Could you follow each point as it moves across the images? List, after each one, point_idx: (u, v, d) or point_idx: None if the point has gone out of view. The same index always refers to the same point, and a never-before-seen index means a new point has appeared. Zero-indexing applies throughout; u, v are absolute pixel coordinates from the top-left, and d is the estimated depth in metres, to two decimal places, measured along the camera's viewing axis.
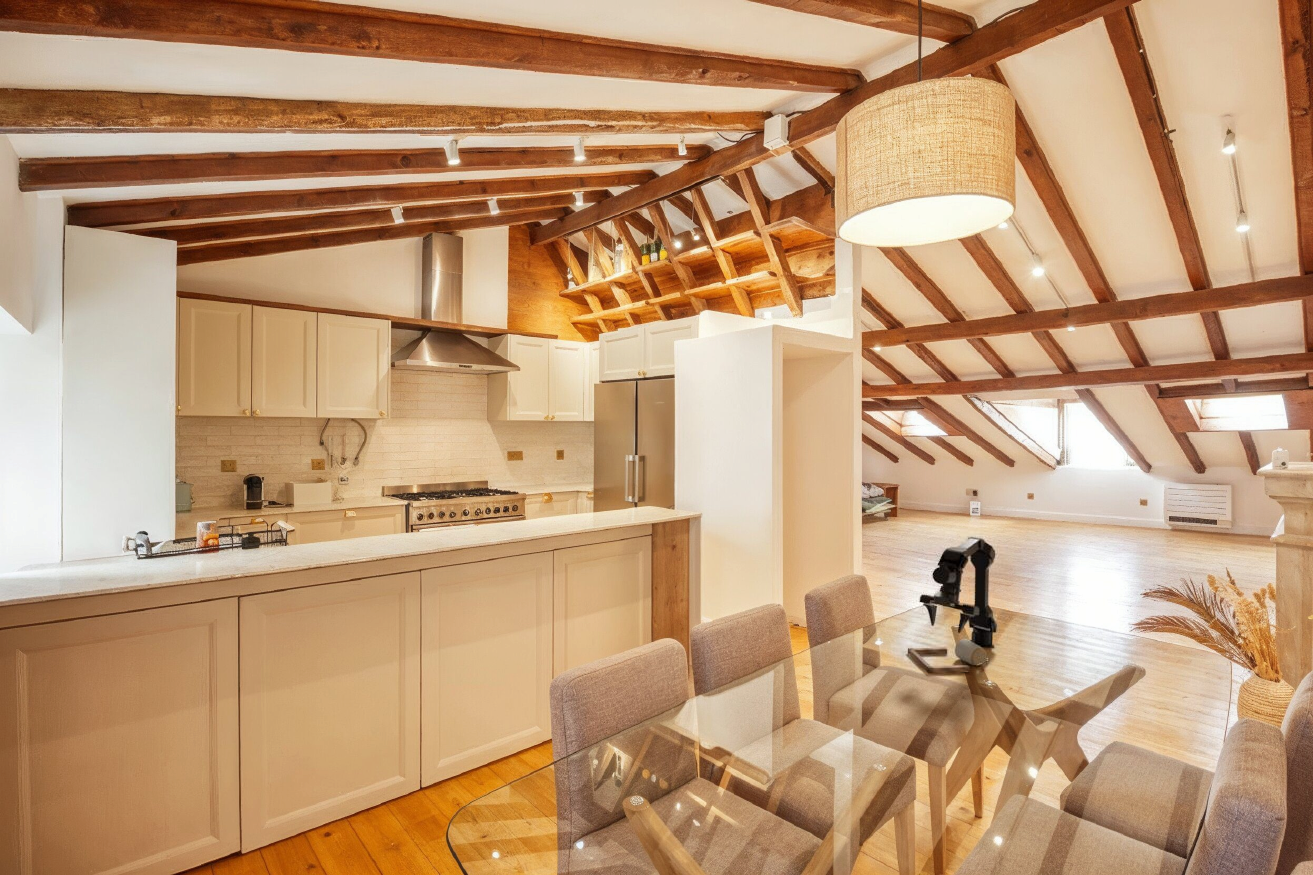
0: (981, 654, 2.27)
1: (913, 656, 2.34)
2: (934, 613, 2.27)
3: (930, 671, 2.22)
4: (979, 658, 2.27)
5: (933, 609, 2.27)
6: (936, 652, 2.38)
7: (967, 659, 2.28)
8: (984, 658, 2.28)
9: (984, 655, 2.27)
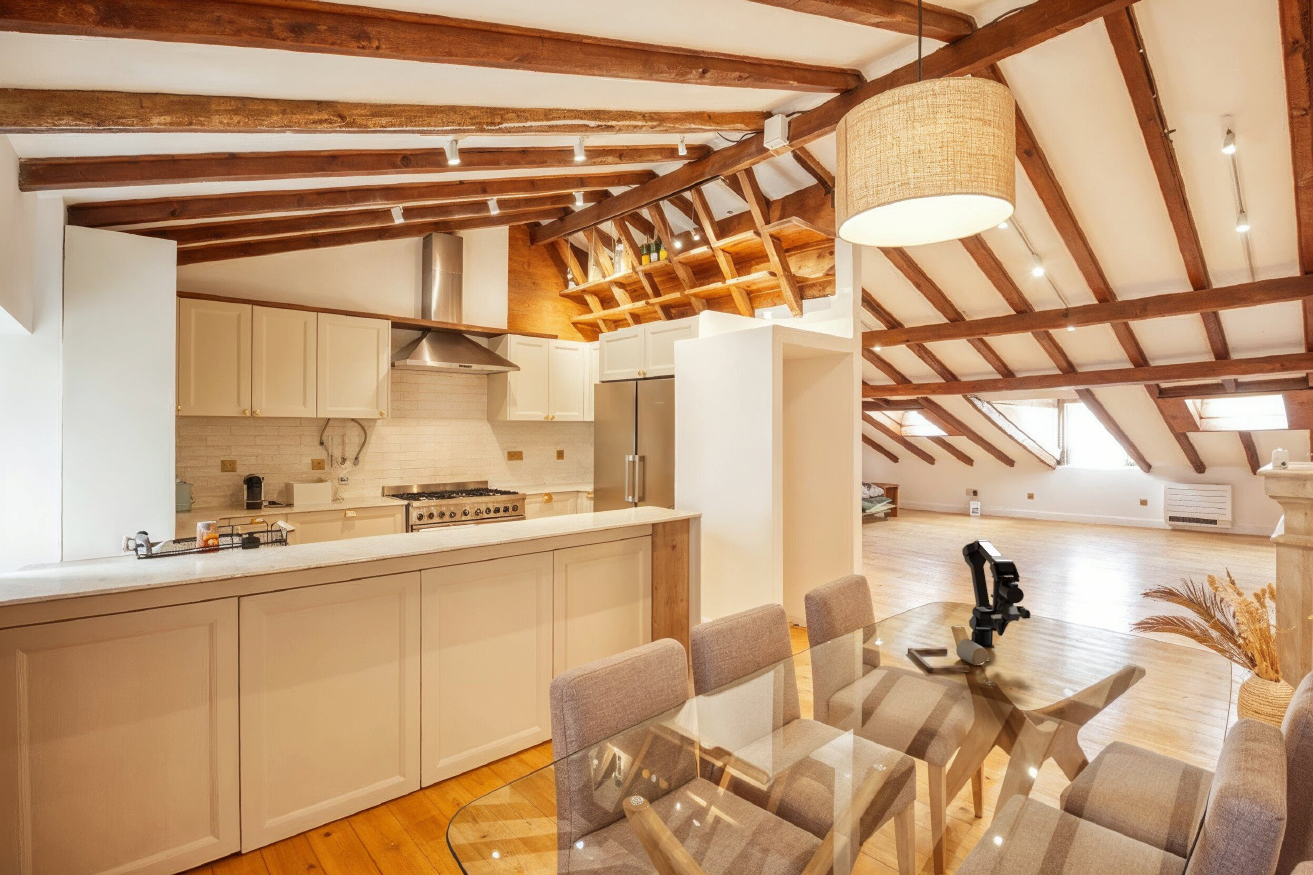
0: (982, 654, 2.27)
1: (913, 656, 2.34)
2: None
3: (930, 671, 2.22)
4: (980, 658, 2.27)
5: None
6: (936, 652, 2.38)
7: (968, 659, 2.28)
8: (985, 658, 2.28)
9: (985, 655, 2.28)
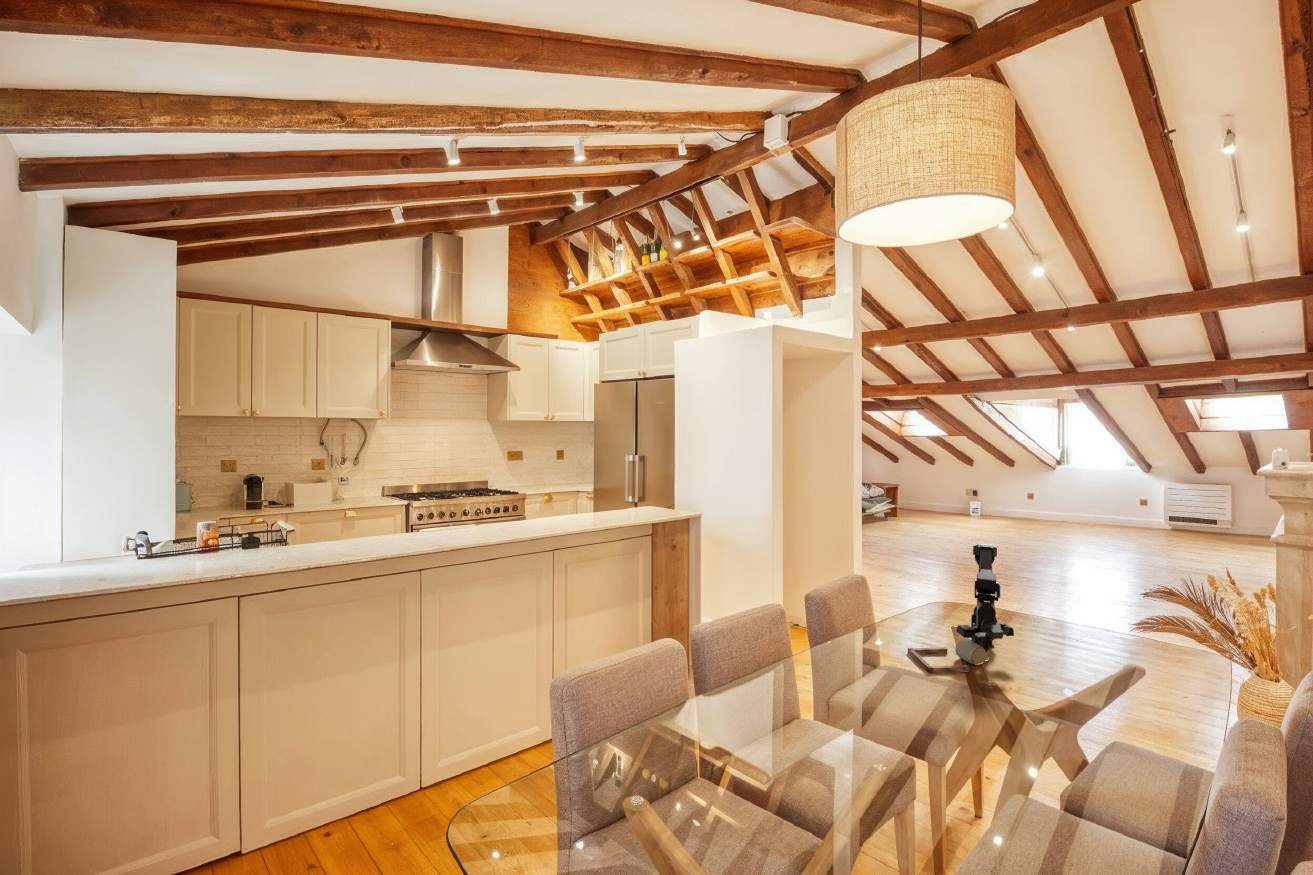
0: (981, 653, 2.27)
1: (913, 656, 2.34)
2: None
3: (930, 671, 2.22)
4: (979, 657, 2.27)
5: None
6: (936, 652, 2.38)
7: (967, 658, 2.28)
8: (984, 657, 2.28)
9: (984, 654, 2.28)
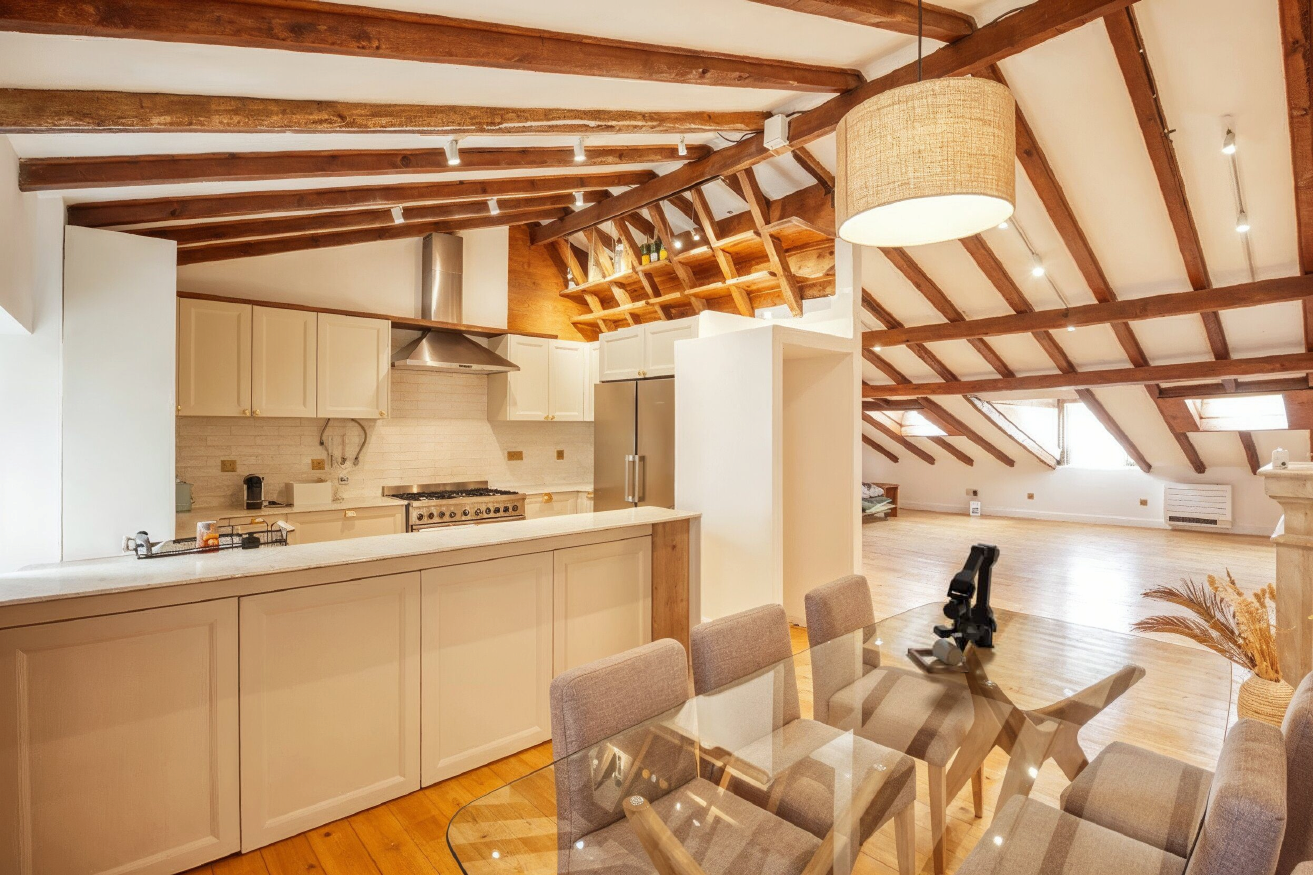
0: (957, 654, 2.27)
1: (913, 656, 2.34)
2: None
3: (930, 671, 2.22)
4: (955, 658, 2.27)
5: None
6: None
7: (943, 659, 2.28)
8: (960, 658, 2.28)
9: (960, 655, 2.27)
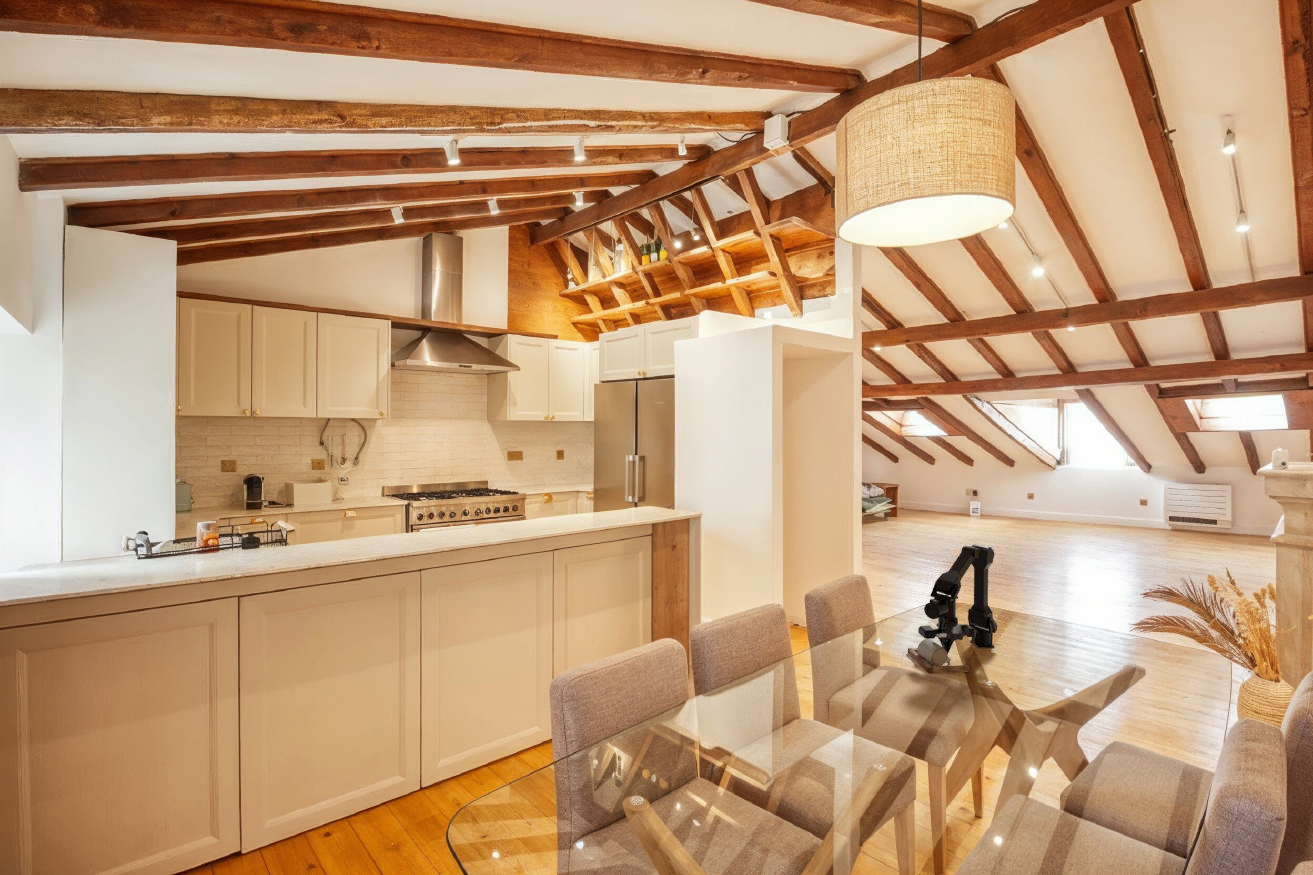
0: (942, 654, 2.27)
1: (913, 656, 2.34)
2: None
3: (930, 671, 2.22)
4: (939, 658, 2.27)
5: None
6: None
7: (928, 659, 2.28)
8: (945, 658, 2.27)
9: (945, 655, 2.27)
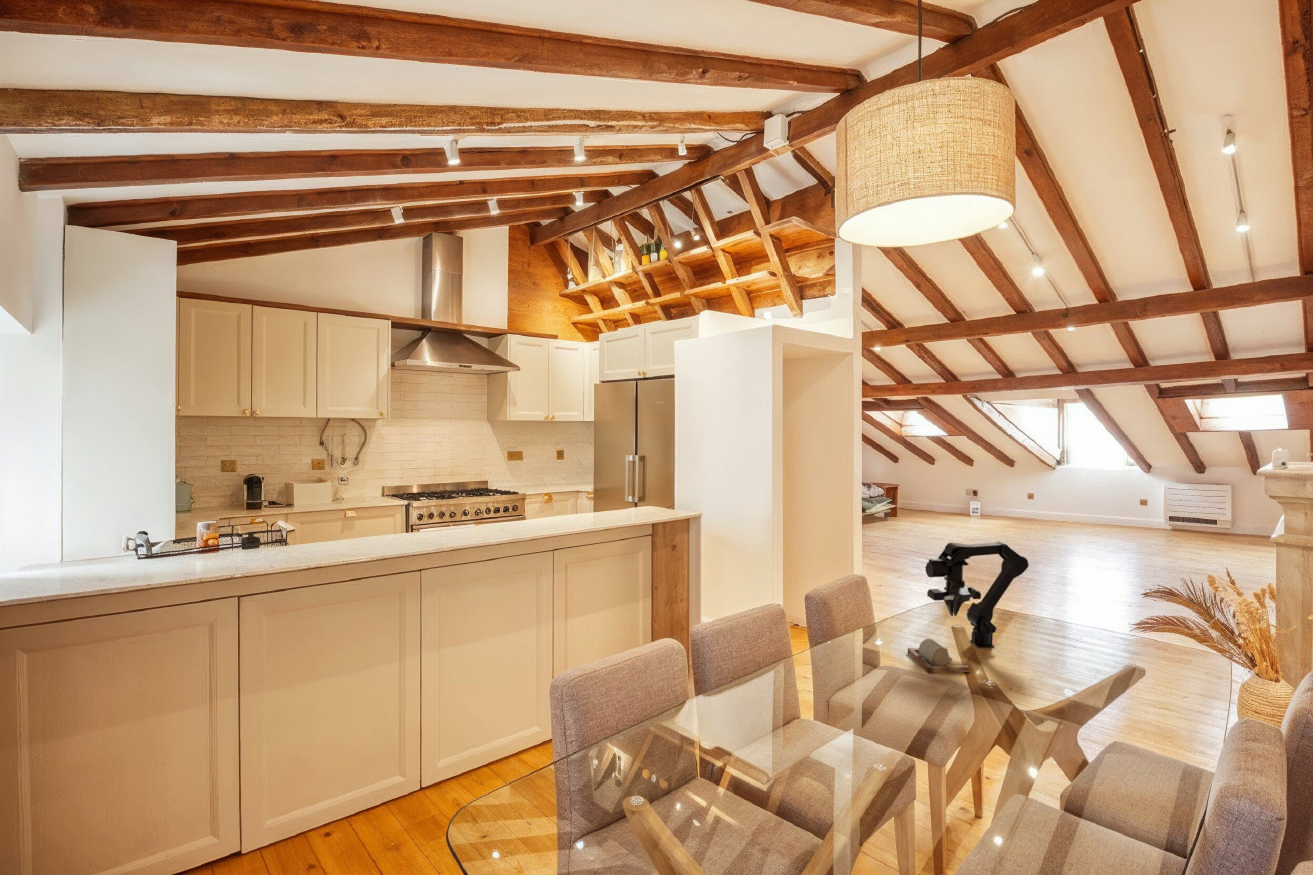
0: (943, 654, 2.27)
1: (913, 656, 2.34)
2: None
3: (930, 671, 2.22)
4: (941, 658, 2.27)
5: None
6: None
7: (929, 659, 2.28)
8: (946, 658, 2.28)
9: (946, 655, 2.27)
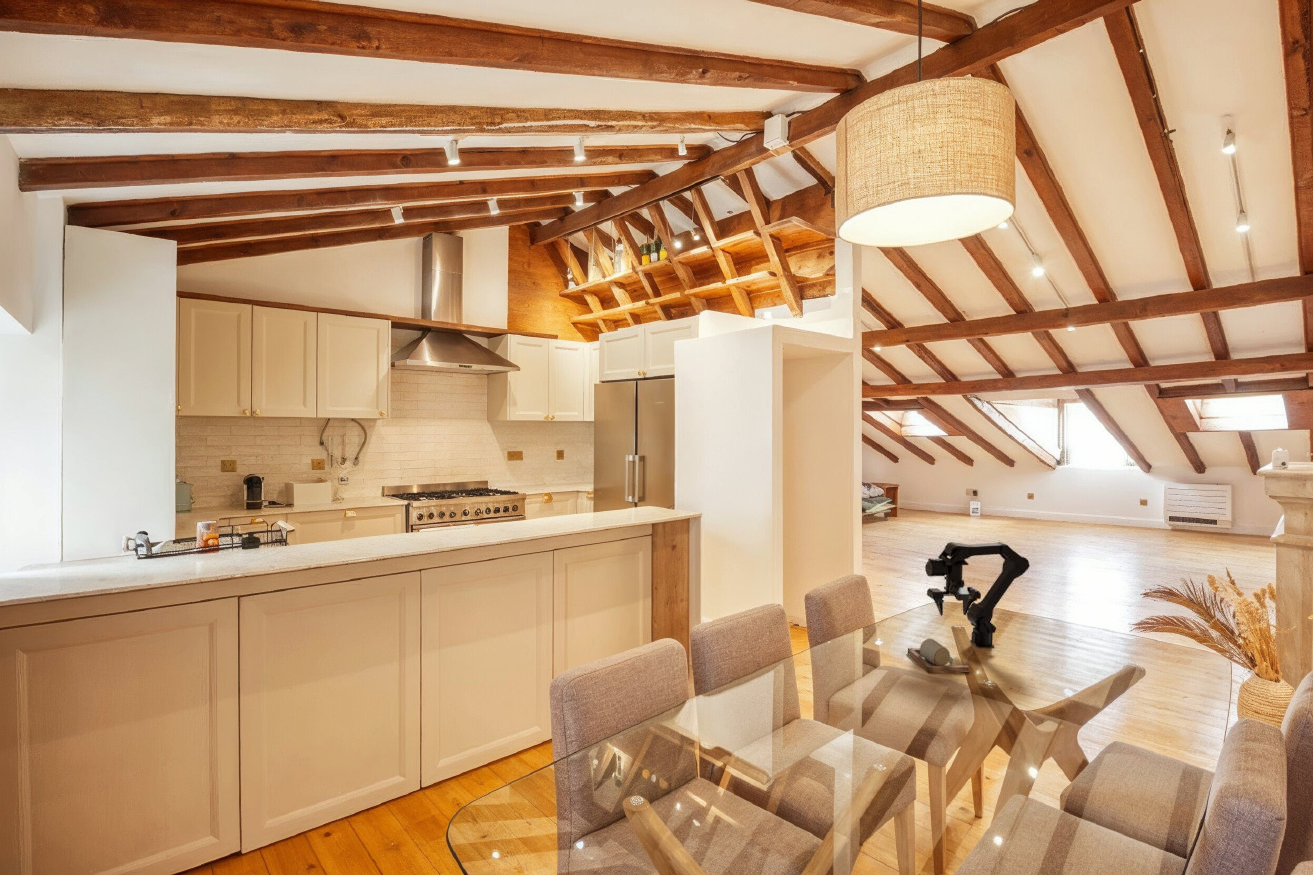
0: (944, 654, 2.27)
1: (913, 656, 2.34)
2: None
3: (930, 671, 2.22)
4: (942, 658, 2.27)
5: None
6: None
7: (930, 659, 2.28)
8: (948, 658, 2.28)
9: (947, 655, 2.28)
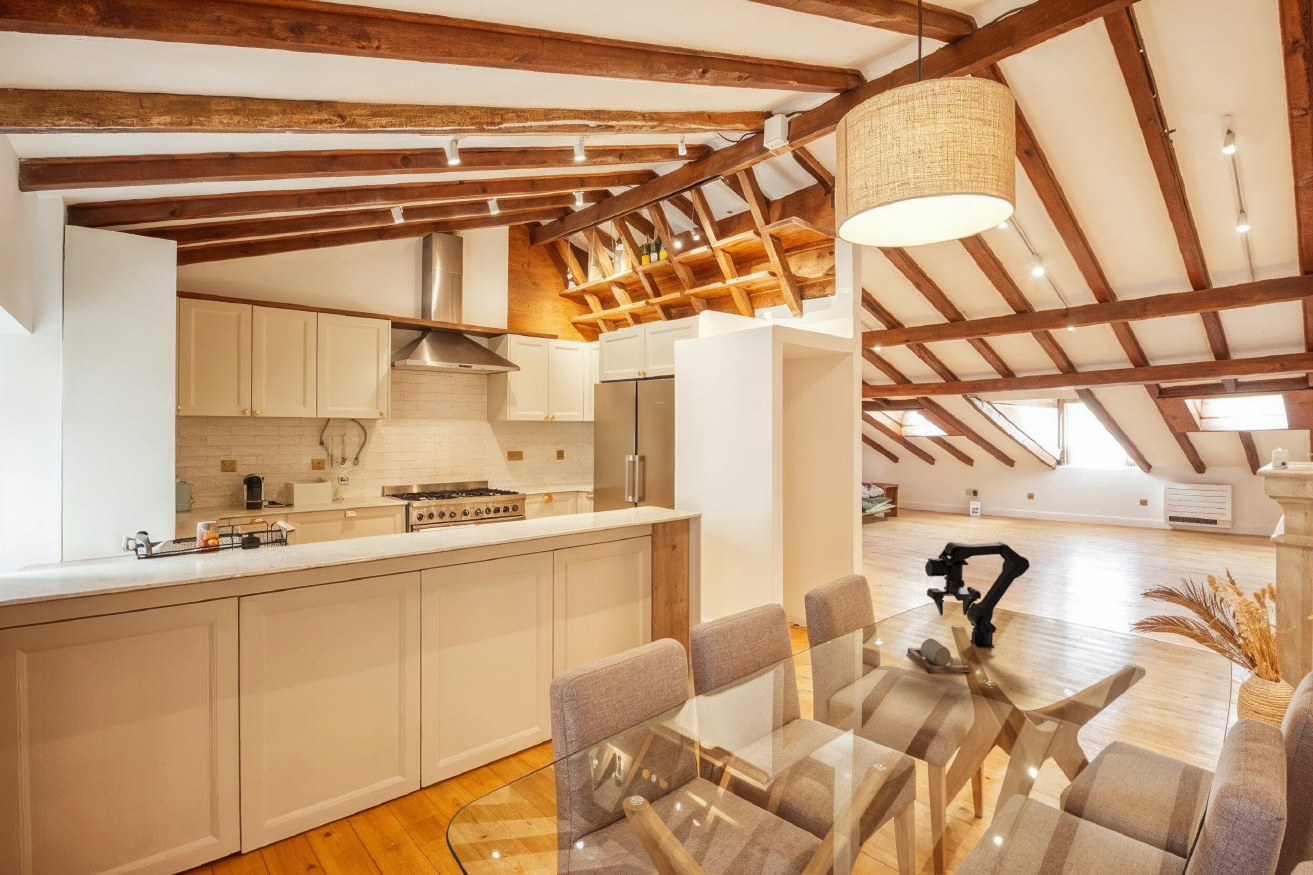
0: (945, 654, 2.27)
1: (913, 656, 2.34)
2: None
3: (930, 671, 2.22)
4: (942, 658, 2.27)
5: None
6: None
7: (931, 659, 2.28)
8: (948, 658, 2.28)
9: (948, 655, 2.28)
